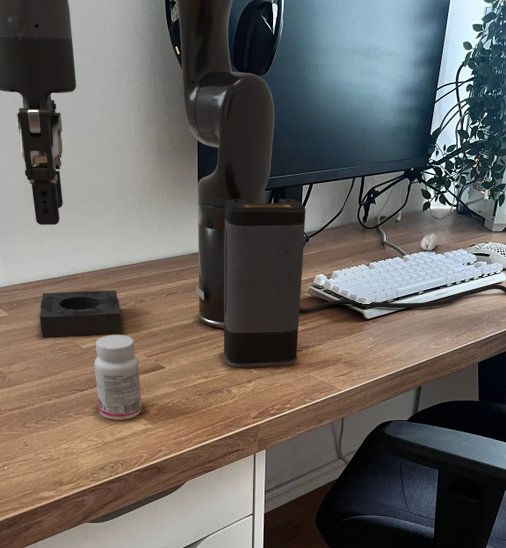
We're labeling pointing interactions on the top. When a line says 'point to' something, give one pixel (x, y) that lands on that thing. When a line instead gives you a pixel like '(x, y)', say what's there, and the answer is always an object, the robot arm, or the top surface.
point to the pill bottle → (117, 377)
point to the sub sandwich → (429, 242)
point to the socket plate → (80, 313)
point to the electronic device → (262, 282)
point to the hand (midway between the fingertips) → (50, 215)
